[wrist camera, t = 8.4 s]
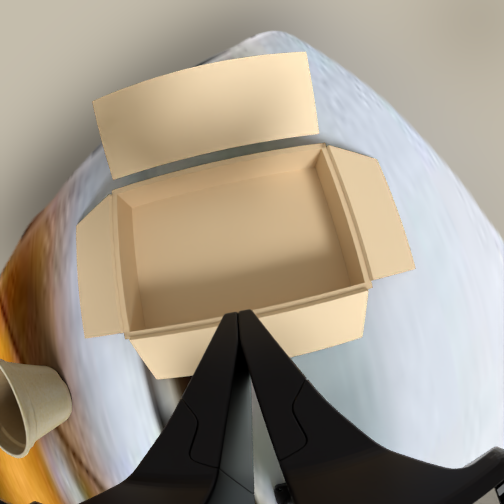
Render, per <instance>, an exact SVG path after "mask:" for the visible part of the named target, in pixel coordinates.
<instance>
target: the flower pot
mask: <svg viewBox="0 0 504 504" xmlns="http://www.w3.org/2000/svg"><path fill="white" fill-rule="evenodd" d="M71 411H72V401H71V396H70V393H69V390H68V387H67V385H66V384H65V383H64V382H63V381H62V379H61V378H60V376H59V375H58V373H57V372H56V371H55V370H54V369H52V368H50V367H48V366H38V365H27V364H19V363H12V362H5V361H4V360H2V359H0V448H1V449H2V450H3V451H5V452H6V453H7V454H9V455H11V456H13V457H15V458H22V457H24V456H26V455H27V454H28V452H29V450H30V448H31V447H32V446H33V445H34V443H35V441H36V440H38V439H39V438H41V437H42V436H44V435H45V434H46V433H48V432H49V431H51V430H52V429H54V428H55V427H57V426H58V425H60V424H61V423H63V422H64V421H66V420H67V419H68V417H69V416H70V414H71Z"/></svg>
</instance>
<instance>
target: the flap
mask: <svg viewBox="0 0 504 504" xmlns="http://www.w3.org/2000/svg"><path fill="white" fill-rule="evenodd" d="M92 103H93V108H94V112H95V116H96V120H97V124H98V129H99V132H100V136H101V140H102V144H103V148H104V151H105V155H106V158H107V162H108V165H109V168H110V172H111V175H112V178H113V180H115V179H118V178H121V177H124V176H127V175H130V174H133V173H136V172H140V171H143V170H146V169H150V168H153V167H156V166H160V165H163V164H167V163H171V162H174V161H178V160H182V159H186V158H190V157H194V156H198V155H202V154H206V153H211V152H215V151H220V150H224V149H229V148H234V147H239V146H244V145H249V144H254V143H260V142H266V141H272V140H278V139H284V138H291V137H298V136H306V135H314V134H319V129H318V122H317V114H316V107H315V101H314V94H313V88H312V82H311V76H310V70H309V65H308V60H307V55H306V52H292V53H279V54H268V55H259V56H251V57H244V58H238V59H231V60H226V61H220V62H215V63H210V64H205V65H201V66H196V67H192V68H188V69H184V70H180V71H177V72H173V73H170V74H166V75H162V76H159V77H156V78H153V79H149V80H147V81H143V82H140V83H138V84H135V85H132V86H129V87H126V88H124V89H121V90H118V91H116V92H113V93H111V94H108V95H106V96H104V97H101V98H99V99H97V100H94V101H93V102H92Z"/></svg>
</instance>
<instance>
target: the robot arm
mask: <svg viewBox="0 0 504 504" xmlns="http://www.w3.org/2000/svg"><path fill="white" fill-rule="evenodd" d="M250 377H251V379H250ZM251 380H252V383H253V387H254V390H255V393H256V396H257V399H258V402H259V405H260V409H261V412H262V415H263V418H264V421H265V424H266V427H267V430H268V433H269V436H270V439H271V442H272V445H273V448H274V450H275V453H276V456H277V459H278V462H279V465H280V468H281V470H282V473H283V476H284V479H285V482H286V483H284V484H278V485H276V486H275V487H274V493H275V496H276V500H277V503H278V504H504V449H502V448H499V447H494V448H492V449H490V450H489V451H487V452H486V453H484V454H483V455H481V456H480V457H478V458H477V459H475V460H474V461H472V462H471V463H469V464H467V465H466V466H464V467H463V468H458V469H451V468H445V467H441V466H437V465H434V464H430V463H427V462H424V461H420V460H417V459H414V458H411V457H408V456H405V455H402V454H399V453H396V452H393V451H391V450H389V449H386V448H385V447H383V446H381V445H379V444H378V443H376V442H375V441H374V440H372V439H371V438H370V437H368V436H367V435H366V434H365V433H363V432H362V431H361V430H360V429H358V428H357V427H356V426H355V425H354V424H352V423H351V422H350V421H349V420H348V419H346V418H345V417H344V416H343V415H342V414H341V413H339V412H338V411H337V410H336V409H335V408H334V407H333V406H332V405H331V404H330V403H329V402H328V401H326V399H325V398H324V397H323V396H322V395H321V394H320V393H319V392H318V391H317V390H316V389H315V387H314V386H313V385H312V384H311V383H310V381H309V380H307V379H306V377H305V376H304V374H303V373H302V372H301V371H300V370H299V368H298V367H297V366H296V365H295V363H294V362H293V361H292V360H291V359H290V357H289V356H288V355H287V354H286V352H285V351H284V350H283V349H282V347H281V346H280V345H279V344H278V342H277V341H276V340H275V339H274V337H273V336H272V335H271V334H270V332H269V331H268V330H267V329H266V327H265V326H264V325H263V324H262V322H261V321H260V320H259V318H258V317H257V316H256V315H255V313H254V312H253V311H252V310H251V309H247V310H241V311H239V312H238V313H237V312H230V313H226V314H224V315H223V317H222V319H221V321H220V323H219V325H218V327H217V329H216V331H215V333H214V335H213V337H212V339H211V341H210V343H209V345H208V347H207V349H206V351H205V353H204V355H203V356H202V358H201V360H200V362H199V364H198V366H197V368H196V370H195V372H194V374H193V376H192V378H191V380H190V382H189V384H188V386H187V388H186V390H185V392H184V393H183V395H182V399H180V401H179V403H178V405H177V407H176V409H175V411H174V412H173V414H172V416H171V418H170V420H169V421H168V423H167V425H166V426H165V428H164V429H163V431H162V432H161V434H160V435H159V437H158V438H157V440H156V441H155V443H154V444H153V445H152V447H151V448H150V450H149V451H148V453H147V454H146V455H145V457H144V458H143V460H142V461H141V462H140V464H139V465H138V467H137V468H136V469H135V470H134V472H133V473H132V474H131V475H130V476H129V477H128V478H127V479H125V480H124V481H123V482H121V483H120V484H118V485H116V486H114V487H112V488H110V489H108V490H106V491H104V492H103V493H100V494H98V495H96V496H94V497H92V498H90V499H88V500H86V501H84V502H81V503H79V504H255V499H254V495H253V494H254V472H253V441H252V409H251ZM279 488H281V490H277V489H279ZM0 504H12V503H9V502H7V501H5V500H3V499H1V498H0ZM30 504H42V503H39V502H36V501H33V502H32V503H30Z"/></svg>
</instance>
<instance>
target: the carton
mask: <svg viewBox="0 0 504 504" xmlns="http://www.w3.org/2000/svg"><path fill="white" fill-rule="evenodd" d="M76 245H77V271H78V286H79V297H80V306H81V314H82V322H83V329H84V335H85V338H92V337H99V336H106V335H112V334H118V333H124V336H125V339H129V340H130V342H131V343H132V345H133V346H134V348H135V349H136V351H137V352H138V354H139V355H140V357H141V358H142V360H143V361H144V362H145V364H146V365H147V367H148V368H149V369H150V371H151V372H152V373H153V375H154V376H155V378H156V379H167V378H176V377H185V376H192V375H193V374H194V372H195V370H196V368H197V366H198V364H199V362H200V360H201V358H202V356H203V355H204V353H205V351H206V349H207V347H208V345H209V343H210V341H211V339H212V337H213V335H214V333H215V331H216V329H217V327H218V325H219V323H220V321H221V319H222V317H223V315H224V314H226V313H230V312H237V313H238V312H239V311H241V310H247V309H251V310H252V311H253V312H254V313H255V315H256V316H257V317H258V318H259V320H260V321H261V322H262V324H263V325H264V326H265V327H266V329H267V330H268V331H269V332H270V334H271V335H272V336H273V337H274V339H275V340H276V341H277V342H278V344H279V345H280V346H281V347H282V349H283V350H284V351H285V352H286V354H287V355H288V356H289V357H294V356H298V355H302V354H306V353H310V352H314V351H318V350H321V349H325V348H328V347H332V346H335V345H339V344H342V343H346V342H349V341H352V340H355V339H358V338H361V337H362V335H363V329H364V322H365V315H366V307H367V299H368V289H370V288H373V287H372V283H371V281H372V280H376V279H380V278H384V277H388V276H391V275H395V274H399V273H402V272H406V271H409V270H413V269H416V268H415V264H414V261H413V257H412V254H411V250H410V247H409V244H408V240H407V237H406V234H405V231H404V228H403V225H402V222H401V219H400V216H399V213H398V210H397V208H396V205H395V202H394V200H393V197H392V194H391V192H390V189H389V187H388V184H387V182H386V179H385V177H384V174H383V172H382V170H381V167H380V165H379V163H378V160H377V159H374V158H371V157H368V156H364V155H361V154H358V153H355V152H351V151H348V150H344V149H341V148H337V147H333V146H330V145H328V146H326V144H325V143H319V144H311V145H304V146H297V147H290V148H284V149H278V150H272V151H266V152H261V153H255V154H250V155H245V156H240V157H235V158H230V159H225V160H221V161H216V162H212V163H207V164H203V165H199V166H195V167H191V168H187V169H183V170H179V171H175V172H171V173H168V174H164V175H161V176H157V177H153V178H150V179H147V180H143V181H140V182H137V183H133V184H130V185H127V186H124V187H121V188H118V189H115V190H112V195H110V194H109V195H108V196H107V197H106V198H105V199H104V200H102V201H101V202H100V203H99V204H98V205H97V206H96V207H95V208H94V209H93V210H92V211H91V212H90V213H89V214H88V215H87V216H86V217H85V218H84V219H83V220H82V221H81V222H80V223H79V224H78V225H77V226H76Z"/></svg>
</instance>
